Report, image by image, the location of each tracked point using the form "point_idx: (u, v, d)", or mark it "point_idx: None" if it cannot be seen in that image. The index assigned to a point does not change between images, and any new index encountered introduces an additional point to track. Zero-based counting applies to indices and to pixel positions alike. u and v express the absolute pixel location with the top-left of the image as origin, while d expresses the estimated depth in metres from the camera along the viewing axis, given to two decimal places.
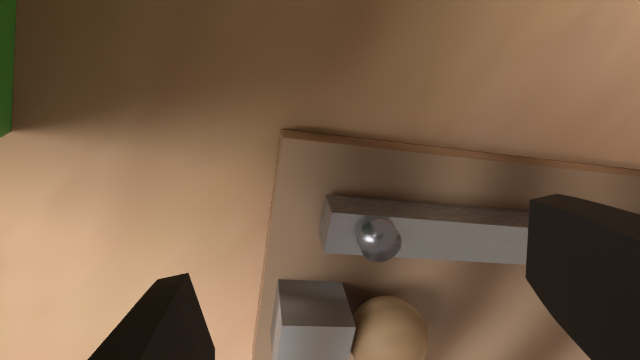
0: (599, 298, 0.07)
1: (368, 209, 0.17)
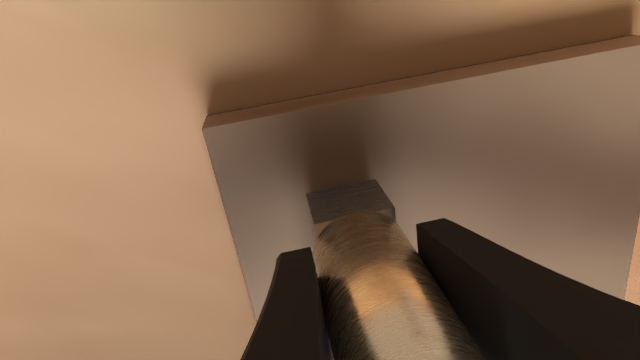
0: None
1: None
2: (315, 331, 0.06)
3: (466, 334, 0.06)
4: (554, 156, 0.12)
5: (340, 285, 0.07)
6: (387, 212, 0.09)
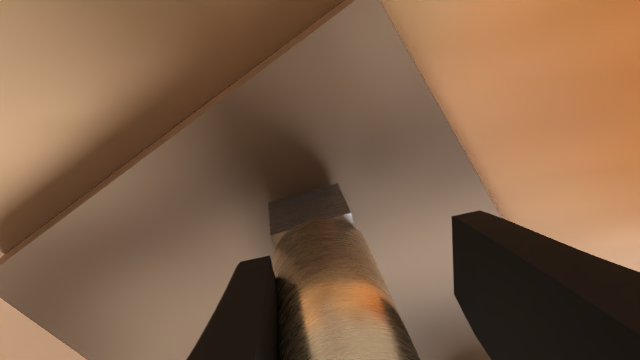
0: (508, 320, 0.07)
1: None
2: (253, 345, 0.05)
3: (403, 343, 0.06)
4: (328, 154, 0.11)
5: (287, 298, 0.07)
6: (344, 218, 0.09)
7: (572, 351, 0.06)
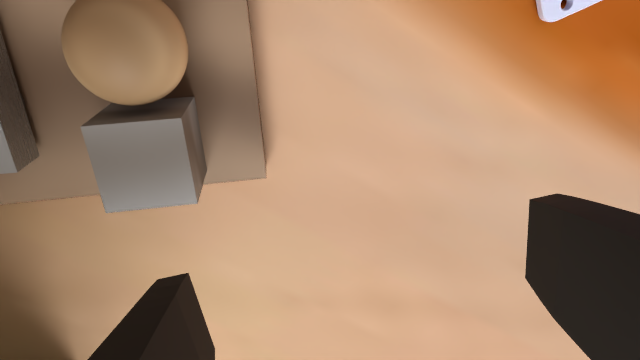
0: (600, 298, 0.07)
1: None
2: None
3: None
4: None
5: None
6: None
7: None
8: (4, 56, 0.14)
